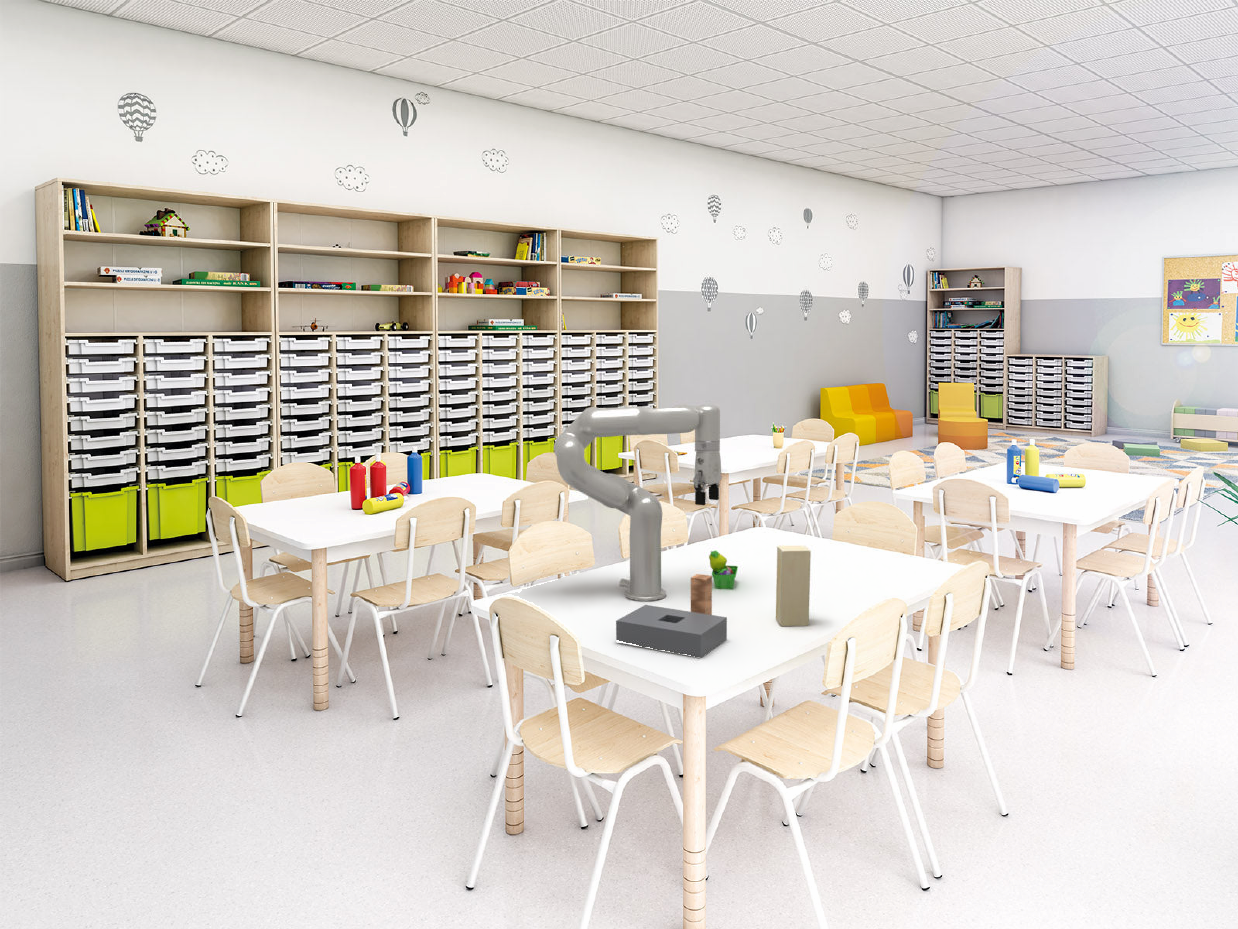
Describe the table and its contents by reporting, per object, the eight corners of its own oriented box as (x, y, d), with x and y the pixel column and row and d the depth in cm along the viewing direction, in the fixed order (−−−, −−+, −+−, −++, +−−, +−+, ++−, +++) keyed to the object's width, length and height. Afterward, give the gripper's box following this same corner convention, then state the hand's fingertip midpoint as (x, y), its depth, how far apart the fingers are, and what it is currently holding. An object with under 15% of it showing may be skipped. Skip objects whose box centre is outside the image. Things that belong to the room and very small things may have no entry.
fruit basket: (736, 590, 285) (736, 555, 284) (707, 589, 287) (707, 554, 285) (737, 581, 297) (738, 547, 295) (710, 580, 298) (710, 546, 297)
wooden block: (690, 623, 253) (690, 577, 252) (697, 619, 257) (697, 574, 255) (705, 625, 251) (705, 579, 249) (711, 621, 255) (711, 575, 253)
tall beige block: (803, 617, 257) (804, 544, 254) (809, 626, 250) (810, 550, 247) (775, 618, 257) (775, 545, 254) (780, 626, 250) (781, 551, 247)
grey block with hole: (616, 643, 238) (616, 620, 237) (645, 626, 252) (645, 604, 251) (700, 658, 226) (700, 634, 225) (726, 639, 240) (726, 617, 239)
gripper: (706, 450, 268) (706, 508, 270) (730, 443, 283) (729, 498, 285) (683, 448, 272) (683, 505, 274) (707, 442, 287) (707, 496, 289)
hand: (707, 502), depth 280 cm, fingers open, 9 cm apart
